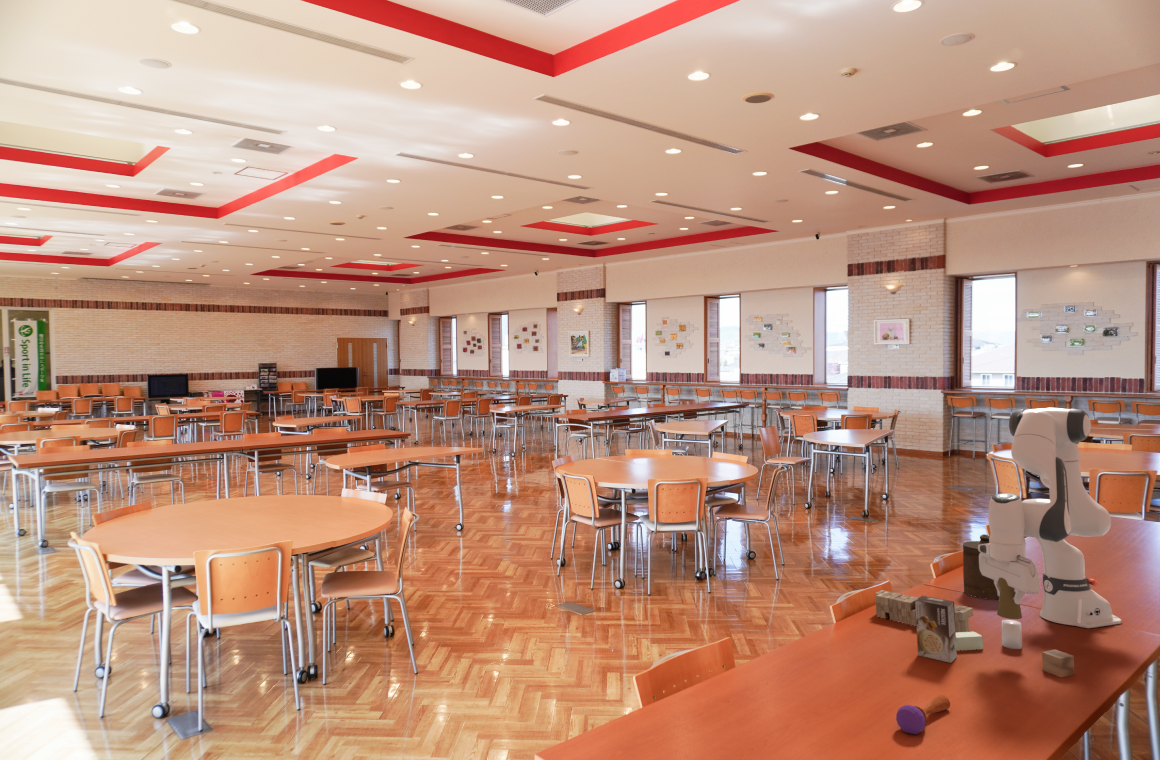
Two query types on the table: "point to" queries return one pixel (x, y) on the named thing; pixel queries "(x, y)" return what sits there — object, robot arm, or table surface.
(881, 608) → the block tower
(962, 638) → the sage block
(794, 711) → the table surface
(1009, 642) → the white capsule
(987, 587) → the wooden container
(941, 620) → the coffee box
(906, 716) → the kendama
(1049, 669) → the walnut cube
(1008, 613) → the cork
